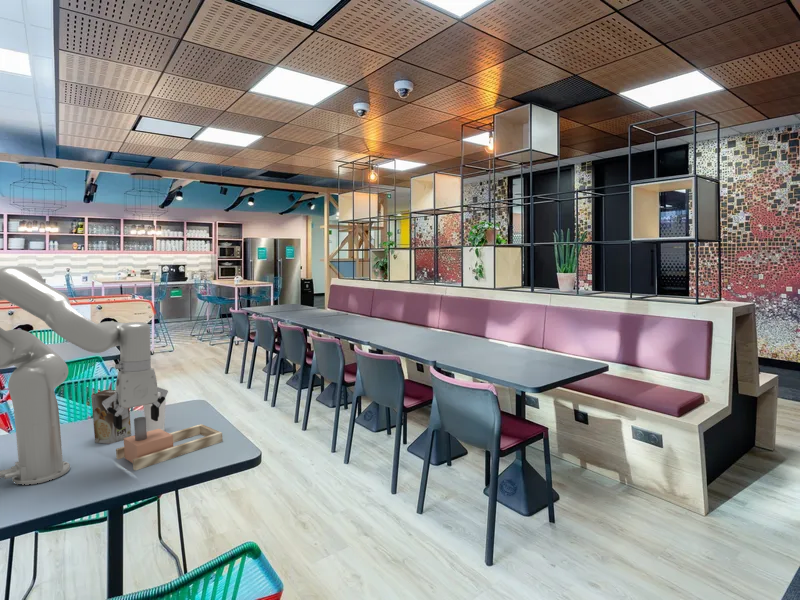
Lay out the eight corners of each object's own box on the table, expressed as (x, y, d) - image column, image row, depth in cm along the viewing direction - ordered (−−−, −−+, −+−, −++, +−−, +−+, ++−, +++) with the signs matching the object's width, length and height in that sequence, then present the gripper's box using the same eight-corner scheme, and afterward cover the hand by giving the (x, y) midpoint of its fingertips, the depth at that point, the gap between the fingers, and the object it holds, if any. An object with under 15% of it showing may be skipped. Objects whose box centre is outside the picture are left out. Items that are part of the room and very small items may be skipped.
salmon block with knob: (137, 466, 130) (135, 424, 129) (124, 458, 136) (122, 418, 135) (173, 454, 138) (171, 415, 137) (160, 447, 144) (157, 409, 143)
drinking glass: (171, 431, 161) (169, 388, 159) (159, 438, 154) (157, 394, 153) (153, 430, 161) (150, 388, 160) (140, 438, 155) (137, 393, 153)
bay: (135, 474, 128) (134, 460, 128) (116, 462, 136) (115, 448, 136) (222, 444, 148) (222, 432, 148) (201, 435, 156) (201, 424, 156)
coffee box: (132, 437, 155) (129, 390, 154) (116, 445, 149) (113, 396, 147) (110, 435, 157) (107, 389, 156) (93, 442, 151) (90, 394, 150)
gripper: (107, 372, 124) (108, 435, 125) (172, 363, 137) (173, 419, 139) (96, 368, 129) (98, 428, 130) (161, 359, 142) (161, 414, 143)
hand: (137, 424), depth 134 cm, fingers open, 9 cm apart
